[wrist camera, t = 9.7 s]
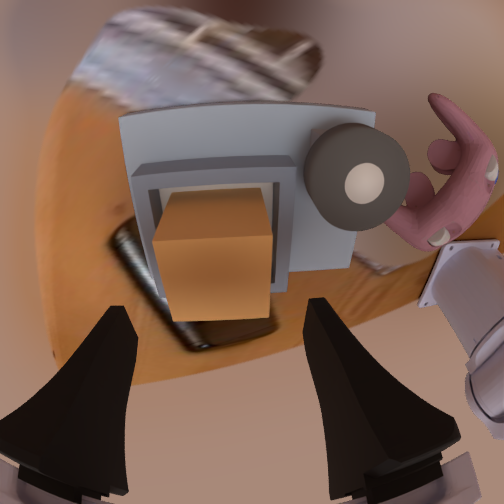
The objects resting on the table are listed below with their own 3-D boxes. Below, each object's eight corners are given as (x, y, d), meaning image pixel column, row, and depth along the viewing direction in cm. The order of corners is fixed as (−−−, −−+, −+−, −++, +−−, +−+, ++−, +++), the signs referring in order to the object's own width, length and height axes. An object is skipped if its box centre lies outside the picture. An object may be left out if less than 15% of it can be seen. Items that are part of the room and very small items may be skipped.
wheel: (381, 120, 13) (418, 137, 10) (369, 198, 16) (398, 230, 13) (296, 112, 13) (316, 125, 10) (291, 198, 16) (307, 233, 13)
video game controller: (374, 207, 21) (434, 272, 17) (347, 191, 17) (422, 270, 13) (444, 115, 16) (514, 170, 12) (430, 81, 13) (519, 141, 9)
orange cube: (260, 187, 16) (272, 235, 12) (259, 259, 19) (269, 317, 15) (171, 192, 15) (152, 241, 11) (183, 263, 18) (173, 321, 14)
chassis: (364, 108, 15) (393, 119, 12) (342, 255, 21) (358, 286, 18) (127, 113, 14) (104, 124, 11) (155, 265, 20) (146, 298, 17)
